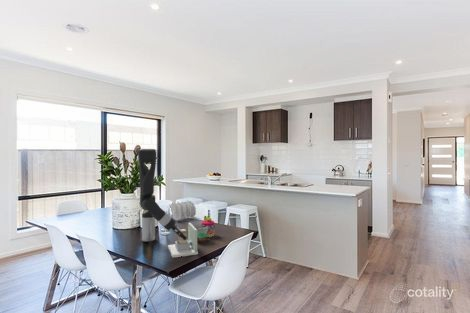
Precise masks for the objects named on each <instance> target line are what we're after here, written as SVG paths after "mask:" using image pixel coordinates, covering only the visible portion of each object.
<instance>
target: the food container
mask: <svg viewBox="0 0 470 313" xmlns="http://www.w3.org/2000/svg"><path fill="white" fill-rule="evenodd" d="M196 229H197V243H205V242H206V241H207V230H208V226H206V227H198V228H196Z"/></svg>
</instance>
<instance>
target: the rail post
mask: <svg viewBox="0 0 470 313" xmlns="http://www.w3.org/2000/svg"><path fill="white" fill-rule="evenodd" d="M180 230H181V232H182V233H183V234H184V235H185V236H186V237H187V238H186V240H184V239H183V238H181V237H179V236H178V235H177V238H178V239H177V241H178V244H187V240H188V236H187V235H188V234H187V232H188V230H186V228H183V229H182V228H181V229H180ZM180 234H181V233H179V235H180Z"/></svg>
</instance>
